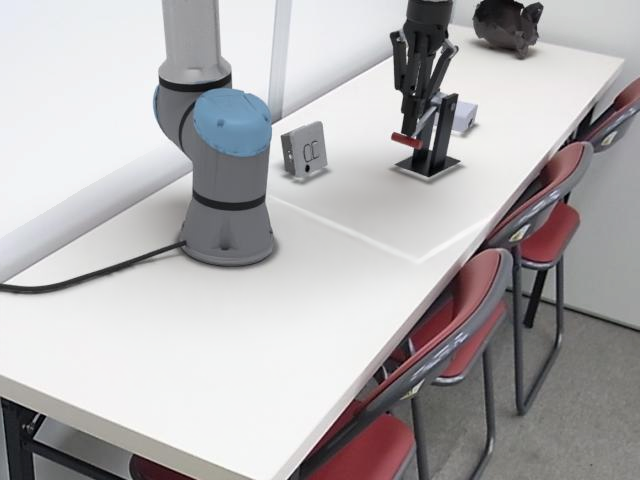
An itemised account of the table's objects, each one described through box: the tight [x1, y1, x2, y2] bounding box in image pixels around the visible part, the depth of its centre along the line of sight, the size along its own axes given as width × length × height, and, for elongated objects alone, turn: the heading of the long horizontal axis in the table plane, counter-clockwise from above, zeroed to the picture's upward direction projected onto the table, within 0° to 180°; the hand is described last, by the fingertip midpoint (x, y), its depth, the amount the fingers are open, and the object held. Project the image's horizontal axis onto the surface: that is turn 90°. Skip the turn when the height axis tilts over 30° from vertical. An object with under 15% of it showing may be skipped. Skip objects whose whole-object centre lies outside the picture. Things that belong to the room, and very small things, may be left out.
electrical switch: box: [280, 120, 328, 179], centre depth 171 cm, size 9×5×9 cm, turn 141°
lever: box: [390, 91, 449, 150], centre depth 170 cm, size 13×6×2 cm, turn 139°
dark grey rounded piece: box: [471, 0, 545, 57], centre depth 245 cm, size 14×15×20 cm
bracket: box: [394, 87, 462, 178], centre depth 175 cm, size 12×8×15 cm, turn 139°
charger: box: [433, 100, 479, 133], centre depth 198 cm, size 5×9×15 cm
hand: (408, 132), depth 167 cm, fingers closed
